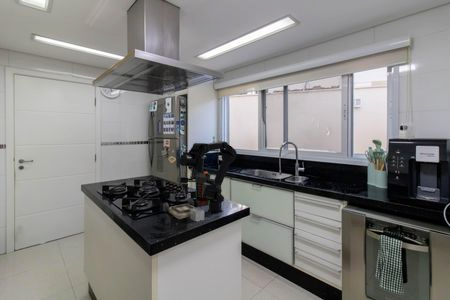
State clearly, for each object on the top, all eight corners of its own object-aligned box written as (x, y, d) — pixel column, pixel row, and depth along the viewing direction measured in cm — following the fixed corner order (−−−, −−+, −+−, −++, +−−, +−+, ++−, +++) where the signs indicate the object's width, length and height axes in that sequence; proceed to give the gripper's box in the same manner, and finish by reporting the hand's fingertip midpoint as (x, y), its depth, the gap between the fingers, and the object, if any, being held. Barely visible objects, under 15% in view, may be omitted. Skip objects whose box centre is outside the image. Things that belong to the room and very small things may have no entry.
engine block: (198, 216, 122) (198, 207, 122) (204, 219, 117) (204, 210, 117) (190, 218, 119) (190, 209, 119) (195, 222, 114) (195, 212, 114)
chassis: (190, 205, 141) (190, 197, 141) (204, 212, 127) (204, 204, 127) (163, 210, 131) (162, 202, 131) (175, 219, 117) (175, 210, 117)
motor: (194, 204, 143) (193, 173, 141) (198, 200, 151) (198, 170, 150) (209, 205, 140) (209, 173, 139) (213, 201, 149) (213, 171, 148)
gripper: (185, 166, 106) (181, 200, 105) (220, 169, 115) (217, 200, 114) (178, 165, 116) (175, 195, 115) (211, 168, 125) (208, 196, 124)
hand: (194, 197), depth 117 cm, fingers open, 9 cm apart
